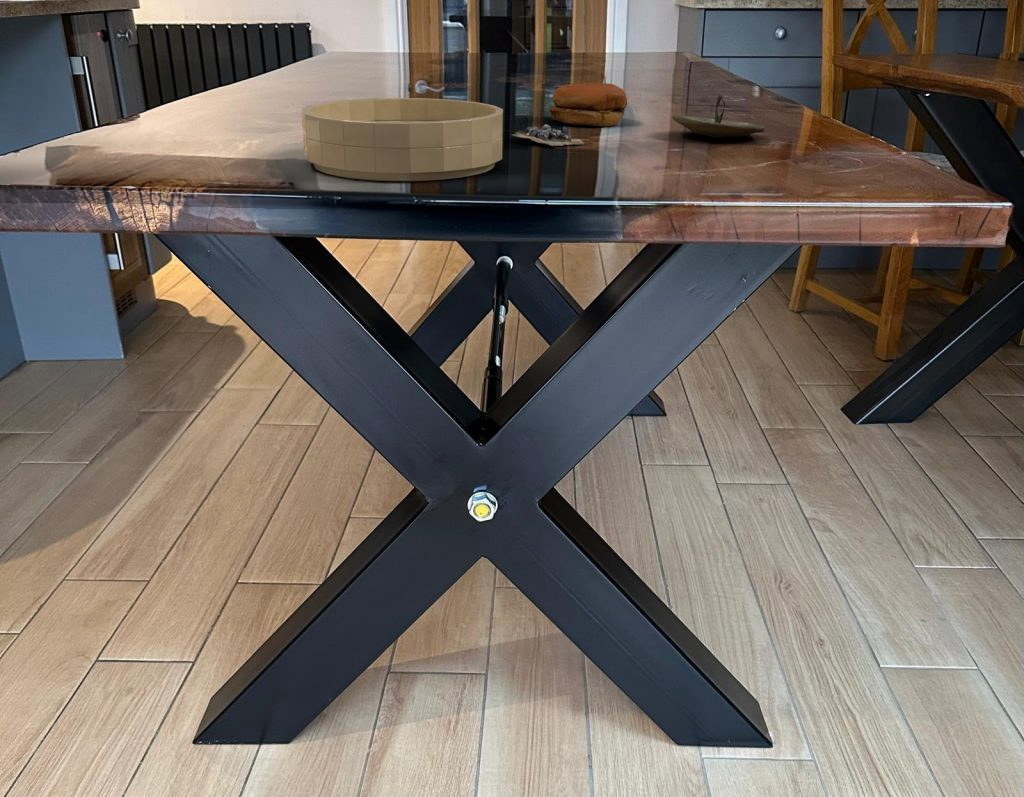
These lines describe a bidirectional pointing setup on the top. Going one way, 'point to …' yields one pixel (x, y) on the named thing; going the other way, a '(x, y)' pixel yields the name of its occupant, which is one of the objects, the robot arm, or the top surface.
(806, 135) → the top surface
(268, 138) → the top surface
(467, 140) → the bowl
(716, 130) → the lid
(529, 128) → the blueberries
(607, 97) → the burger
